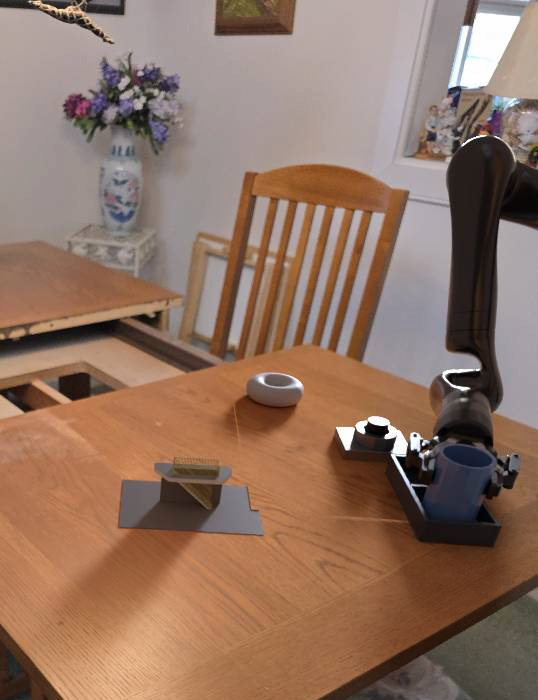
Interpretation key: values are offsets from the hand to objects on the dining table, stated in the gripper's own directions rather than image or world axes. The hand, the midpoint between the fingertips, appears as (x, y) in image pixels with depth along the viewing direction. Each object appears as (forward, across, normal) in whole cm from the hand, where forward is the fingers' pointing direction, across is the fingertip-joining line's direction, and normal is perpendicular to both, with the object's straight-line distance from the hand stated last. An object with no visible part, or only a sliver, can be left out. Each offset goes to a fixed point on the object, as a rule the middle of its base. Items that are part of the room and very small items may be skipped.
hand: (459, 485), depth 85 cm
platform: (+9, -31, +7) cm, 33 cm away
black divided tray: (-6, -1, +7) cm, 9 cm away
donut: (-32, -30, +7) cm, 44 cm away
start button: (-20, -11, +4) cm, 23 cm away
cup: (-2, 0, +6) cm, 6 cm away
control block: (-20, -11, +7) cm, 24 cm away
